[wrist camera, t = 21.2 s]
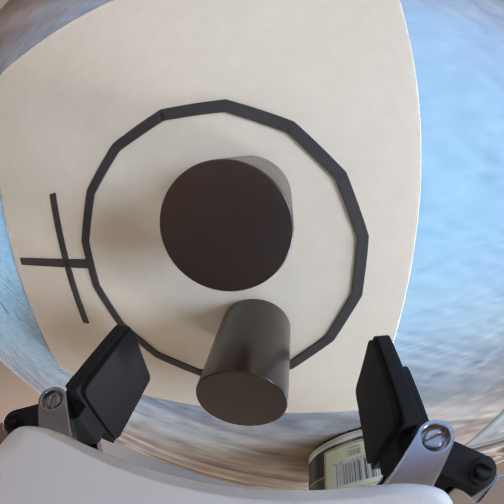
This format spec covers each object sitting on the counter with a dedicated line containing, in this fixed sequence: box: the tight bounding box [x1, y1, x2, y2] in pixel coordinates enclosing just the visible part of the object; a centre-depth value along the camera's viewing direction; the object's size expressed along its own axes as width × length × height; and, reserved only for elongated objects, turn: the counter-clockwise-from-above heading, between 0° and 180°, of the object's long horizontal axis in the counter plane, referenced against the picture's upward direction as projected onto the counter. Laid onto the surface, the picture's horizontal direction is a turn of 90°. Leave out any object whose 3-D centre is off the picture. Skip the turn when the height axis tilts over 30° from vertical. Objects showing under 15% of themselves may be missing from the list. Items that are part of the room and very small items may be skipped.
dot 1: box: [160, 156, 294, 292], centre depth 8 cm, size 3×3×4 cm
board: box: [0, 0, 421, 413], centre depth 12 cm, size 24×24×1 cm
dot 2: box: [196, 299, 290, 426], centre depth 10 cm, size 3×3×4 cm
